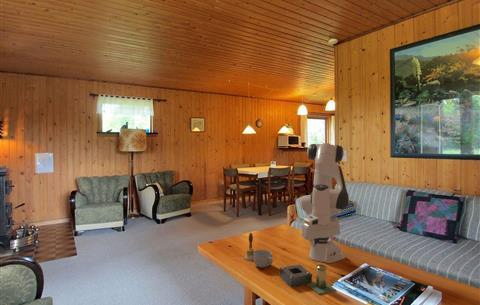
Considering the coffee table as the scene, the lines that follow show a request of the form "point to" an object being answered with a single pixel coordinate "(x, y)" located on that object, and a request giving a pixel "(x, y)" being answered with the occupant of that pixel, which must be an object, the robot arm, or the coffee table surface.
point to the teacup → (263, 258)
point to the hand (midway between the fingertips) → (321, 245)
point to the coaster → (321, 291)
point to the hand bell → (250, 250)
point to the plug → (321, 276)
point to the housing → (295, 275)
